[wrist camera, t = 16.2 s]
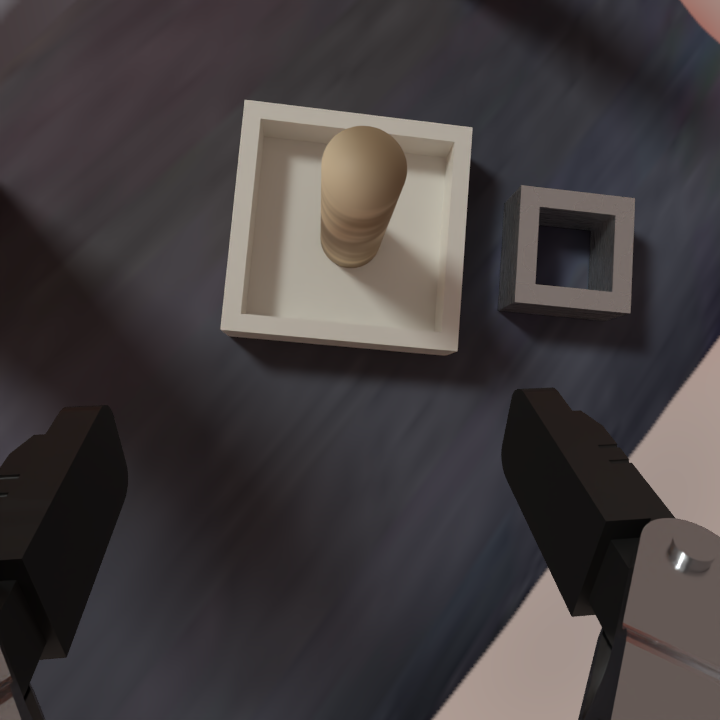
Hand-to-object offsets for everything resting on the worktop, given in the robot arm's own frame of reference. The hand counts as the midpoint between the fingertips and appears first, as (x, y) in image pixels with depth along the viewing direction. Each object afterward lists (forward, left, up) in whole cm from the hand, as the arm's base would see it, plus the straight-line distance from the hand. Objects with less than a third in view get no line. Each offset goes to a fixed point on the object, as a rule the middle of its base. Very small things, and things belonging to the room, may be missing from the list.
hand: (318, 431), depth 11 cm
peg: (+8, +10, -27) cm, 30 cm away
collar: (+21, +1, -28) cm, 36 cm away
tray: (+8, +10, -28) cm, 31 cm away
